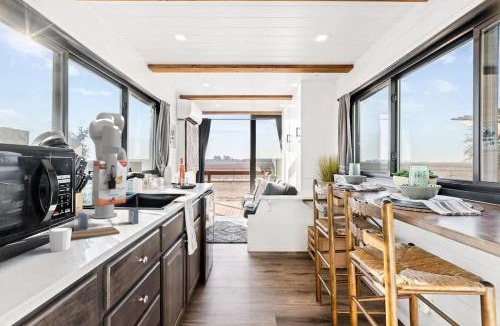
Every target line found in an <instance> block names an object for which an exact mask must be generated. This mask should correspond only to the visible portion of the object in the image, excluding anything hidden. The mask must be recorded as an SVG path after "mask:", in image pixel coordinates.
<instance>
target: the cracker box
mask: <svg viewBox="0 0 500 326" xmlns="http://www.w3.org/2000/svg"><path fill="white" fill-rule="evenodd" d="M127 162H128V161H127ZM127 162H126V161H117V174H116V189H108V181H109V174H107V175H106V161H97V160H93V161H92V185H91V187H92V188H91V189H92V190H91V191H92V192H91V193H92V194H91V195H92V196H91V205H92V206H94V207H95V206H104V205H112V204H114V205H119V204H126V199H127V198H126V197H127V193H126V192H127V175H128V174H127ZM110 174H112V173H111V171H110ZM126 174H127V175H126Z"/></svg>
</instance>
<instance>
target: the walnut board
mask: <svg viewBox="0 0 500 326" xmlns="http://www.w3.org/2000/svg"><path fill="white" fill-rule="evenodd" d="M111 235H113V236H114V235H120V231H119V230H118V229H117V228H116V227H114V226H106V227H98V228H97V227H96V228H91V229H89V228H88V229H87V230H81V231H80V230H75V231H72V232H71V240H70V242H72V241H79V240H85V239H92V238H93V239H94V238H99V237H105V236H111Z"/></svg>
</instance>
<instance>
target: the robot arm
mask: <svg viewBox="0 0 500 326" xmlns="http://www.w3.org/2000/svg"><path fill="white" fill-rule="evenodd" d="M124 127H125V118H124V116H123V115H122V114H120V113H114V112H100V113H99V114H97V115H96V118H95V120H92V121H91V122H90V123H89V126H88V135H89V138H90V139H91V141H92V142H93V144H94V147H95V158H96V161H106V175H107V174H109V181H108V189H116V174H117V161H126V162H127V174H126V176H127V175H128V173H129V163H128V157H127V151H126V150H125V148H123V147H121V146H120V139H121V138H122V134H123V130H124V129H125V128H124ZM110 171H111V173H112V174H110ZM117 216H118V213H117V212H115V204H112V205H104V206H95V205H94V213H93V214H91V218H92V219H110V218H111V219H112V218H115V217H117Z"/></svg>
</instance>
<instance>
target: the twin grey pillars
mask: <svg viewBox="0 0 500 326" xmlns="http://www.w3.org/2000/svg"><path fill="white" fill-rule="evenodd" d="M77 216H78V219H77V221H78V222H77V223H78V227H77V228H78V231H81V230H89V215H88V214H87V213H86V212H79V213H78V215H77ZM128 222H129V223H130V224H132V225H138V224H139V209H137V208H135V207H131V208H129V209H128Z"/></svg>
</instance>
